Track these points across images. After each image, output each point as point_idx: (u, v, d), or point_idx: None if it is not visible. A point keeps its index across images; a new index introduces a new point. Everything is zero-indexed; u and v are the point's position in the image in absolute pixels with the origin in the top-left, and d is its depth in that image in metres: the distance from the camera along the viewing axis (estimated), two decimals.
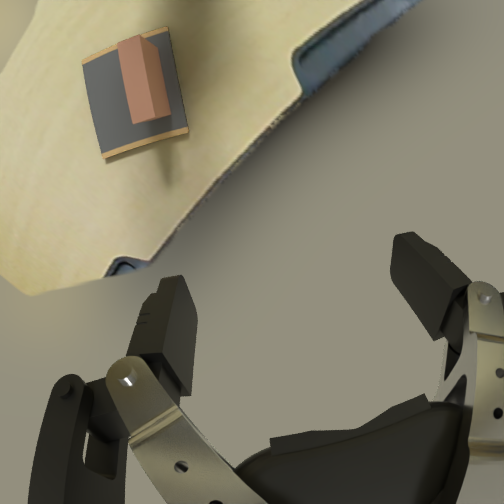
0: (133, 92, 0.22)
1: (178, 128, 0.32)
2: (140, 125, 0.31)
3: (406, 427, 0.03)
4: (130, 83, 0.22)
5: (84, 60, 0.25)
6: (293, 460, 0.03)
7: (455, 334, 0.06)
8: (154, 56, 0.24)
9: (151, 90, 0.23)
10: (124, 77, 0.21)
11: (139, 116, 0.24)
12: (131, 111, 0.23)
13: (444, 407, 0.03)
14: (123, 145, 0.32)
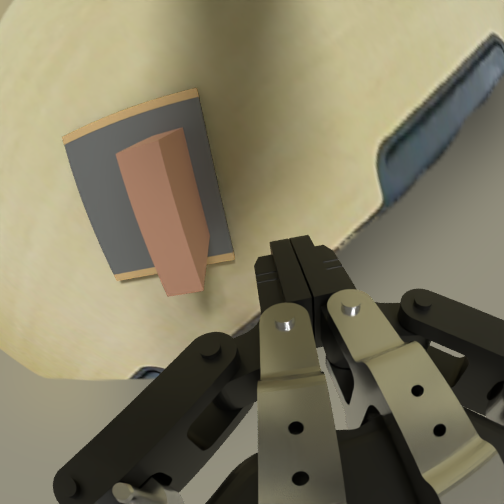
0: (162, 252, 0.16)
1: (220, 254, 0.26)
2: None
3: None
4: (154, 237, 0.16)
5: (66, 137, 0.18)
6: None
7: (334, 354, 0.07)
8: (182, 155, 0.18)
9: (191, 245, 0.17)
10: (141, 225, 0.15)
11: (177, 287, 0.18)
12: (163, 280, 0.17)
13: None
14: (143, 268, 0.26)
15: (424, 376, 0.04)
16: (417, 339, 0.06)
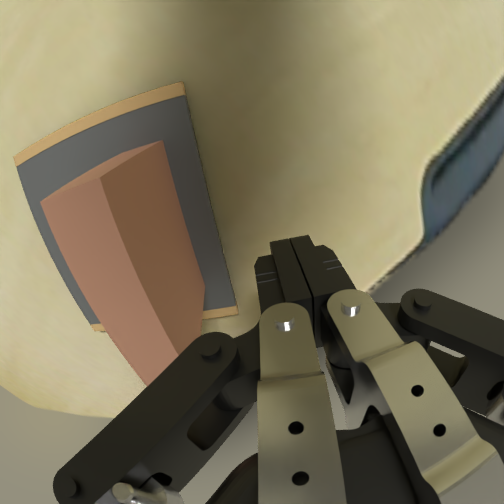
0: (132, 344, 0.10)
1: (219, 307, 0.20)
2: None
3: None
4: (118, 326, 0.09)
5: (17, 157, 0.12)
6: None
7: (334, 354, 0.07)
8: (158, 185, 0.12)
9: (175, 333, 0.11)
10: (96, 309, 0.09)
11: None
12: (140, 373, 0.11)
13: None
14: None
15: (424, 376, 0.04)
16: (417, 339, 0.06)
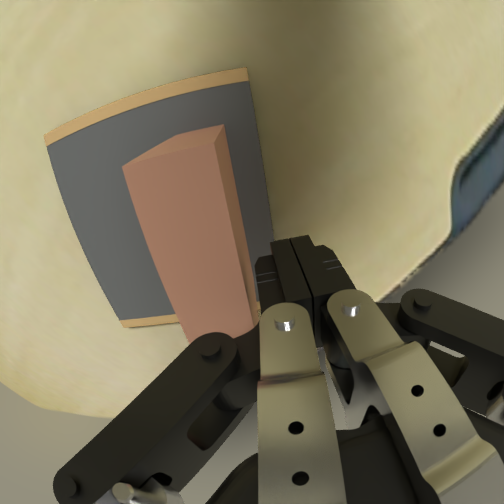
0: None
1: None
2: None
3: None
4: (196, 315, 0.09)
5: (49, 136, 0.12)
6: None
7: (334, 354, 0.07)
8: (229, 167, 0.12)
9: (254, 321, 0.11)
10: (173, 296, 0.09)
11: None
12: None
13: None
14: (159, 314, 0.20)
15: (424, 376, 0.04)
16: (417, 339, 0.06)
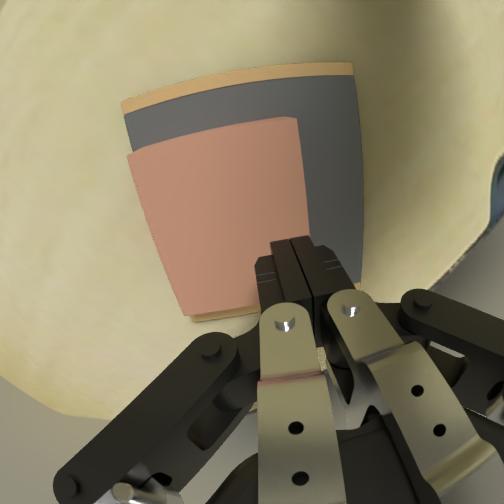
0: None
1: None
2: None
3: None
4: None
5: (128, 103, 0.12)
6: None
7: (334, 354, 0.07)
8: (242, 166, 0.12)
9: (179, 273, 0.15)
10: None
11: None
12: None
13: None
14: None
15: (424, 376, 0.04)
16: (417, 339, 0.06)
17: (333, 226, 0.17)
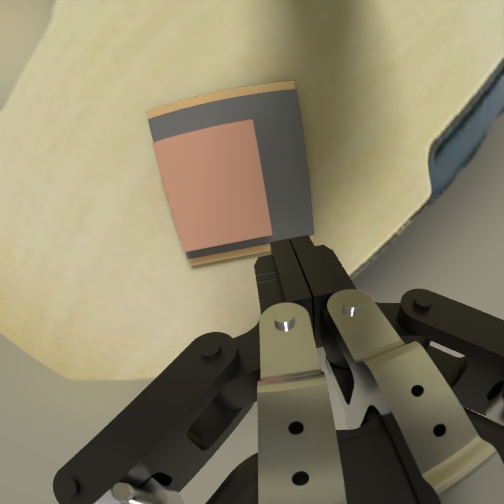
0: None
1: None
2: None
3: None
4: None
5: (151, 111, 0.20)
6: None
7: (334, 354, 0.07)
8: (221, 149, 0.20)
9: (182, 219, 0.23)
10: None
11: None
12: None
13: None
14: (222, 251, 0.28)
15: (424, 376, 0.04)
16: (417, 339, 0.06)
17: (287, 191, 0.25)
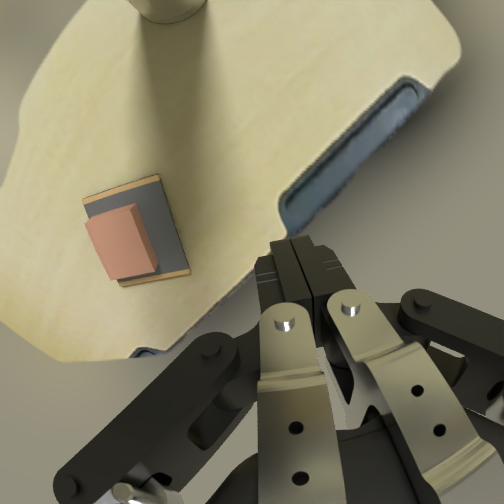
0: None
1: (181, 269, 0.41)
2: None
3: None
4: None
5: (84, 200, 0.34)
6: None
7: (334, 354, 0.07)
8: (117, 226, 0.34)
9: (106, 263, 0.37)
10: None
11: None
12: None
13: None
14: (136, 278, 0.42)
15: (424, 376, 0.04)
16: (417, 339, 0.06)
17: (165, 243, 0.39)
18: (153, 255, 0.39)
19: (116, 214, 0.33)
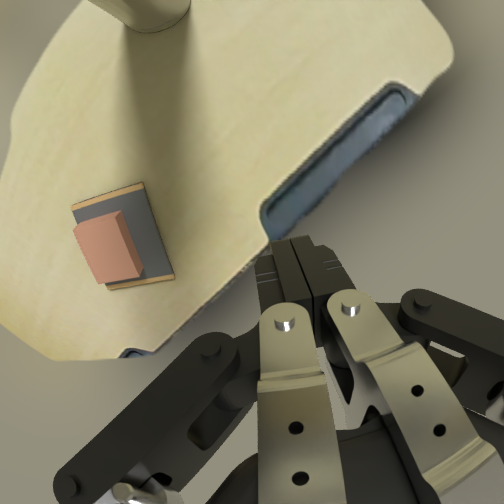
0: None
1: (165, 275, 0.42)
2: None
3: None
4: None
5: (73, 207, 0.35)
6: None
7: (334, 354, 0.07)
8: (103, 233, 0.35)
9: (93, 267, 0.37)
10: None
11: None
12: None
13: None
14: (123, 282, 0.42)
15: (424, 376, 0.04)
16: (417, 339, 0.06)
17: (149, 249, 0.39)
18: (138, 260, 0.40)
19: (102, 221, 0.34)
